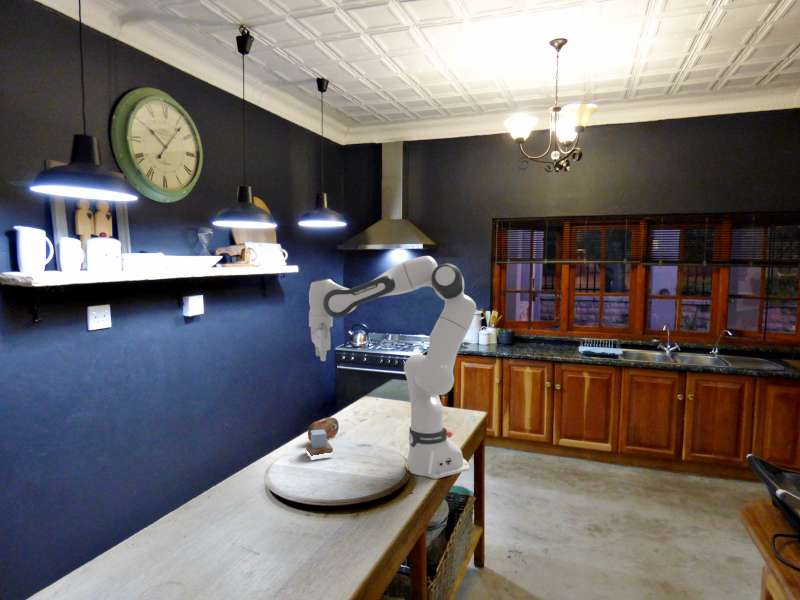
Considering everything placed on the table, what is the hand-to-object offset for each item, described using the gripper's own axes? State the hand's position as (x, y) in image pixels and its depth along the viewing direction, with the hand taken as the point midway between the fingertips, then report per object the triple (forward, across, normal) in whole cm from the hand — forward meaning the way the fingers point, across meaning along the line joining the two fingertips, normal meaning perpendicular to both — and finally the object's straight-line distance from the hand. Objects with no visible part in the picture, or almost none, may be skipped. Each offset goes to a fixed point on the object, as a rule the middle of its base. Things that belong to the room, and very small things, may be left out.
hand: (320, 358), depth 183 cm
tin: (+35, +8, -3) cm, 37 cm away
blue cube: (+31, -6, +2) cm, 32 cm away
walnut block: (+35, -6, +2) cm, 36 cm away
